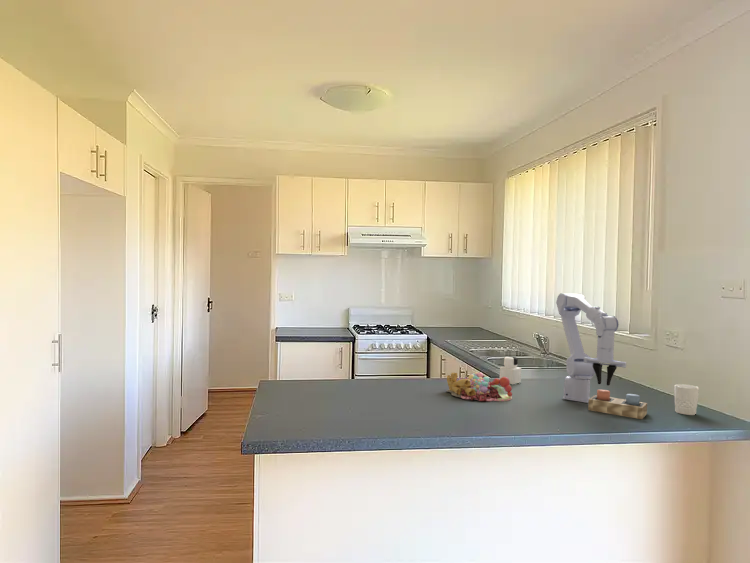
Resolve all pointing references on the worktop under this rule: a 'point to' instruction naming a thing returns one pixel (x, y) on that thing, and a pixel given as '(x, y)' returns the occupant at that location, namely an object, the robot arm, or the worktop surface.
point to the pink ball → (603, 395)
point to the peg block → (617, 407)
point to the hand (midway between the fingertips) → (603, 384)
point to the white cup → (686, 399)
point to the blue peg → (632, 399)
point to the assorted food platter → (479, 387)
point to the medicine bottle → (511, 370)
